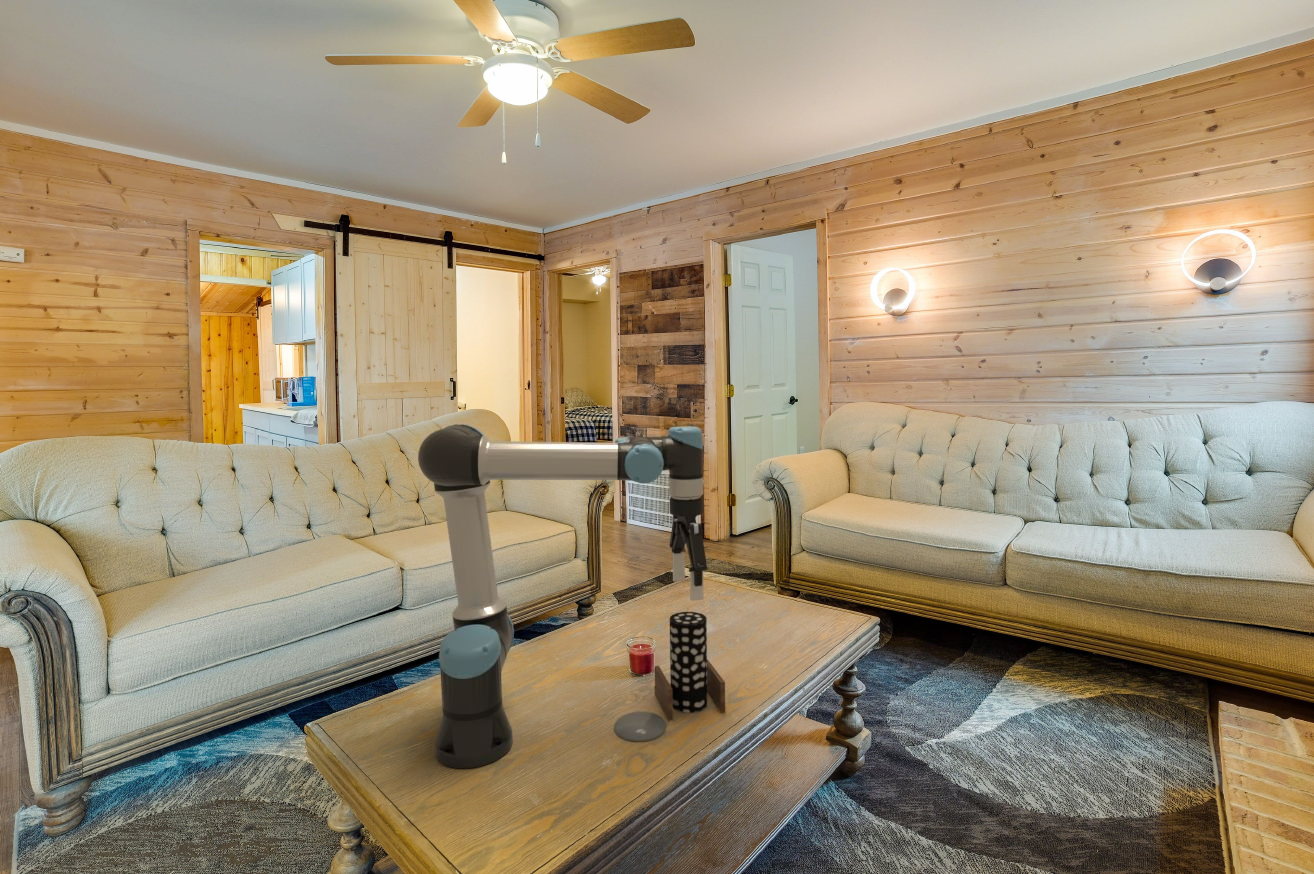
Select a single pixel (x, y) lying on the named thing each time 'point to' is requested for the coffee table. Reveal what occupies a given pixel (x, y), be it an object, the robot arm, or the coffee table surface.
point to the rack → (666, 695)
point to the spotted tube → (688, 661)
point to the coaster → (640, 726)
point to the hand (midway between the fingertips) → (687, 589)
